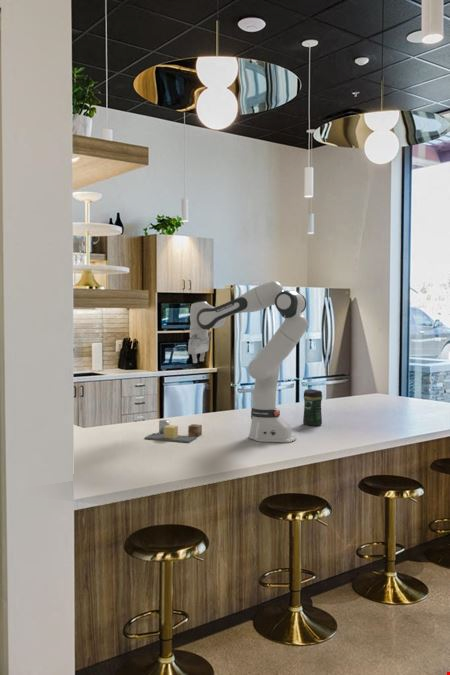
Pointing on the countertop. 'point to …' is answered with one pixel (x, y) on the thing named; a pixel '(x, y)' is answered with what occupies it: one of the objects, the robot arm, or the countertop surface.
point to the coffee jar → (312, 407)
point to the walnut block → (194, 430)
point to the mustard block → (170, 431)
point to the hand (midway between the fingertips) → (198, 362)
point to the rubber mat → (178, 439)
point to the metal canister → (162, 425)
